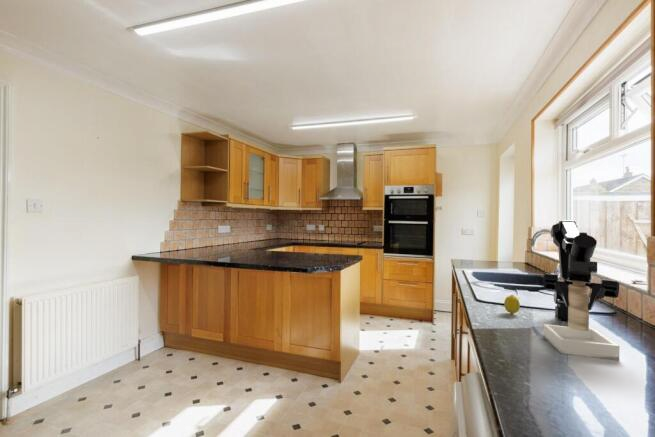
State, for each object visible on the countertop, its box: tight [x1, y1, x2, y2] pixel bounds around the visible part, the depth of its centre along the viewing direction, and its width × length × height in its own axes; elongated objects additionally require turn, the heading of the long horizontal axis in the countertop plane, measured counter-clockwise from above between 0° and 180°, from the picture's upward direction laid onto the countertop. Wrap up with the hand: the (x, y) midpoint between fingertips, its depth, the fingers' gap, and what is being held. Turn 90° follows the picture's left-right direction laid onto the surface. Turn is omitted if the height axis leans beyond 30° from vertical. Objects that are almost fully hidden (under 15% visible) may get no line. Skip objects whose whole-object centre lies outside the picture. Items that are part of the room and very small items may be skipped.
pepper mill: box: [567, 281, 590, 331], centre depth 97 cm, size 5×5×14 cm
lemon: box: [503, 294, 521, 315], centre depth 129 cm, size 6×6×8 cm
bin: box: [543, 323, 620, 361], centre depth 97 cm, size 14×14×4 cm
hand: (578, 307), depth 96 cm, fingers closed on pepper mill, 5 cm apart
